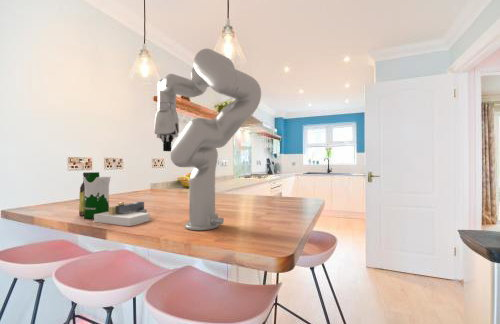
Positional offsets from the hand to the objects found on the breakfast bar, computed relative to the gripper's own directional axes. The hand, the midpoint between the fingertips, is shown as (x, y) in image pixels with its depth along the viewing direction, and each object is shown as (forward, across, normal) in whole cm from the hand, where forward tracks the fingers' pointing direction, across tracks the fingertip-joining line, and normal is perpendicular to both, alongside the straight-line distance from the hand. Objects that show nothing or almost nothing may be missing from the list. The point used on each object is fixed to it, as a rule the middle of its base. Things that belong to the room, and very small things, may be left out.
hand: (167, 151), depth 105 cm
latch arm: (+26, -14, -6) cm, 30 cm away
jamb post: (+29, -14, -2) cm, 32 cm away
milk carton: (+29, -32, -9) cm, 44 cm away
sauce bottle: (+29, -42, -7) cm, 52 cm away
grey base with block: (+29, -14, -11) cm, 34 cm away
